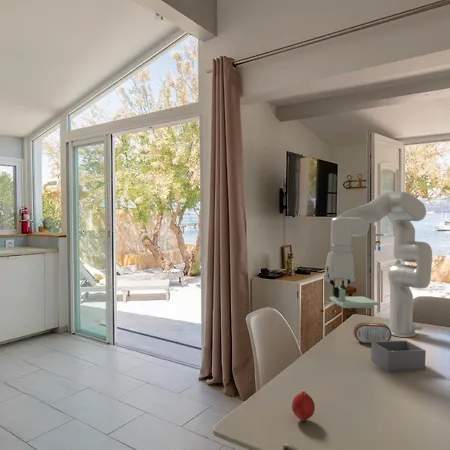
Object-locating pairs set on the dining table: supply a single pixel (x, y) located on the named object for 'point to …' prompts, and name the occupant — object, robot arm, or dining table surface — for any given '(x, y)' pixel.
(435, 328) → the dining table surface
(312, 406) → the onion
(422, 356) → the tub
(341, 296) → the lid
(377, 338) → the tin
